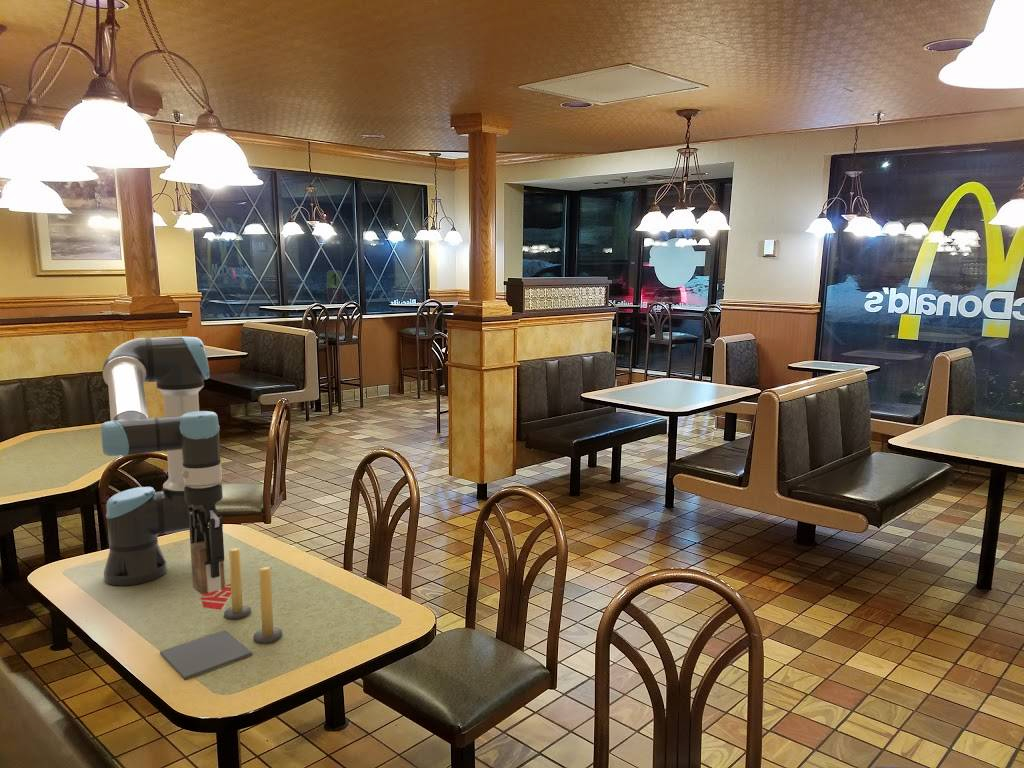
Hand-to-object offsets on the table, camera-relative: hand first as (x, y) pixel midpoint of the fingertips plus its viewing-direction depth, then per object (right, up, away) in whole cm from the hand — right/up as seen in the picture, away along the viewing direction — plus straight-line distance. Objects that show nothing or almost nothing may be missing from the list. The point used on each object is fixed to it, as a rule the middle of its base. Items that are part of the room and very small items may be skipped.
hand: (209, 586), depth 156 cm
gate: (+6, -12, +9) cm, 16 cm away
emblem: (-2, -10, +25) cm, 27 cm away
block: (0, 0, 0) cm, 0 cm away
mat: (+1, -14, -4) cm, 14 cm away
